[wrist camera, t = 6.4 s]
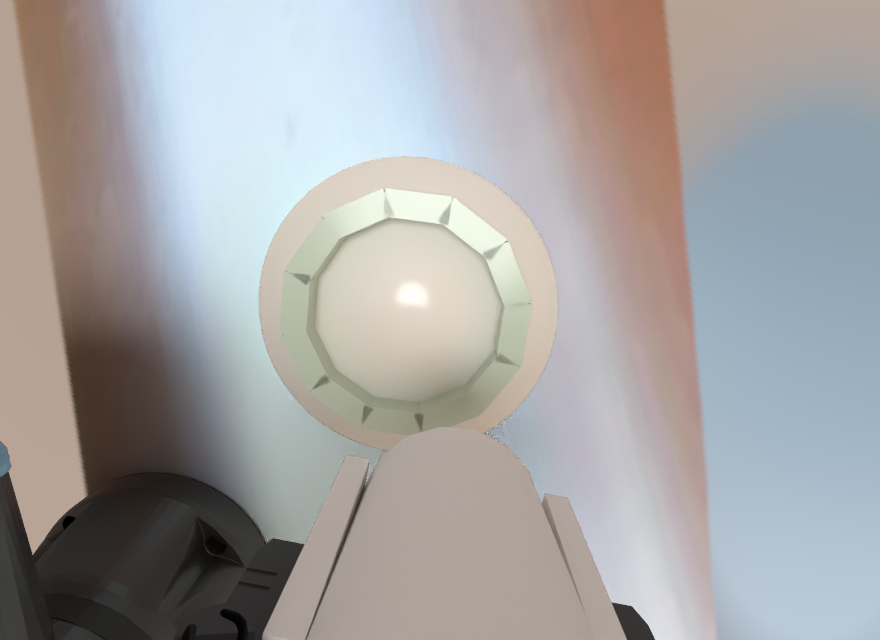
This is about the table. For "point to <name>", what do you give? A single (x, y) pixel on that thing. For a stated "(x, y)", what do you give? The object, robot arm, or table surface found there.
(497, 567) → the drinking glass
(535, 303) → the tray
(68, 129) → the table surface
